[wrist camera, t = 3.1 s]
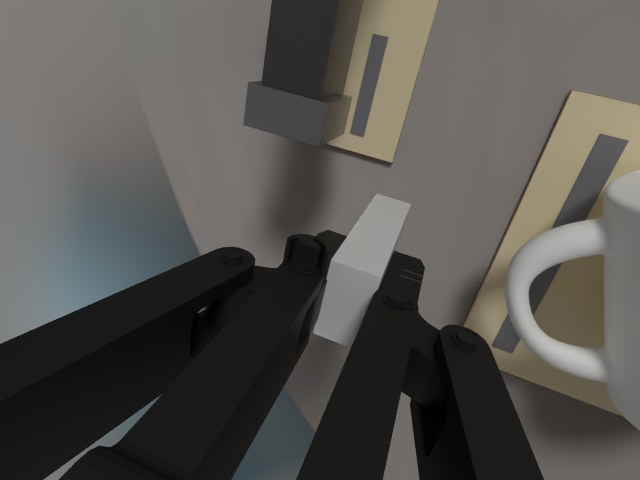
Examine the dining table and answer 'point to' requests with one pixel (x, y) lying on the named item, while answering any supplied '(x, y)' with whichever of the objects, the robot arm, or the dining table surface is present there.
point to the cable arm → (305, 70)
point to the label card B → (550, 212)
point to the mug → (619, 294)
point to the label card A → (384, 73)
